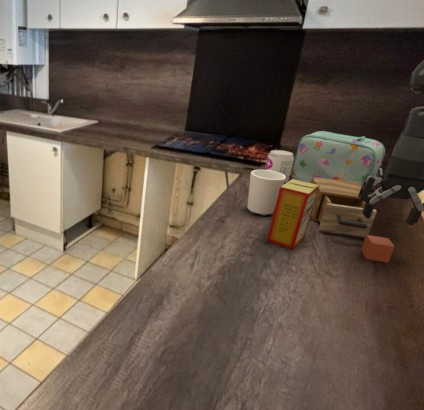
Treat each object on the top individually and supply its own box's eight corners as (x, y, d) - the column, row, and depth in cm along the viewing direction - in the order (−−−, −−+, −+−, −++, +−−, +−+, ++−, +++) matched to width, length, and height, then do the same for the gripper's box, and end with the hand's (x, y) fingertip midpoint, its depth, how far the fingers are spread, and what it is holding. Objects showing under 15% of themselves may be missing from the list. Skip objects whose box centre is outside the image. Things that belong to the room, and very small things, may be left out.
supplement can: (261, 194, 129) (270, 154, 123) (259, 187, 136) (267, 148, 130) (286, 198, 126) (296, 156, 120) (282, 190, 133) (292, 151, 127)
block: (382, 254, 92) (388, 238, 90) (388, 263, 88) (395, 246, 86) (360, 250, 93) (366, 234, 92) (365, 258, 89) (372, 242, 88)
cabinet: (360, 228, 105) (371, 198, 101) (311, 220, 110) (320, 191, 106) (348, 209, 118) (357, 182, 114) (304, 203, 122) (312, 176, 118)
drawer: (372, 245, 94) (383, 218, 91) (322, 236, 98) (331, 211, 95) (354, 217, 110) (362, 194, 107) (311, 211, 114) (318, 188, 111)
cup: (247, 203, 121) (254, 167, 116) (278, 210, 116) (288, 173, 111) (239, 213, 114) (247, 175, 109) (273, 221, 109) (283, 182, 103)
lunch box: (376, 198, 127) (398, 139, 118) (363, 204, 122) (386, 142, 113) (299, 177, 147) (313, 125, 139) (286, 182, 142) (300, 128, 133)
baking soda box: (292, 249, 93) (308, 192, 87) (266, 240, 97) (280, 185, 91) (304, 237, 99) (320, 183, 93) (279, 229, 104) (293, 177, 97)
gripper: (445, 155, 81) (417, 219, 87) (370, 148, 86) (349, 209, 92) (463, 164, 75) (431, 232, 81) (380, 155, 79) (356, 221, 86)
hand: (387, 220), depth 87 cm, fingers open, 8 cm apart
